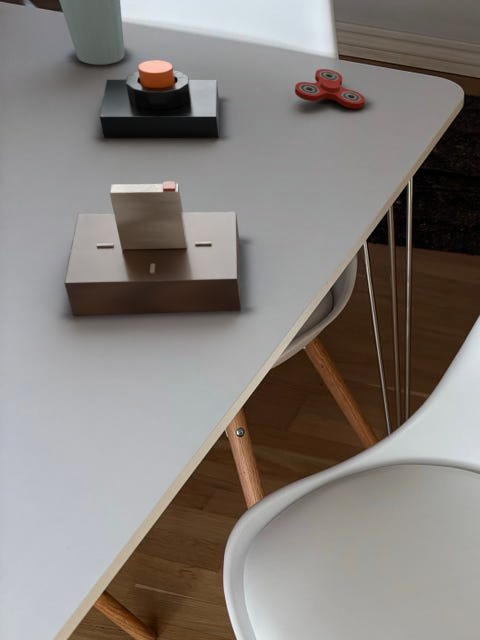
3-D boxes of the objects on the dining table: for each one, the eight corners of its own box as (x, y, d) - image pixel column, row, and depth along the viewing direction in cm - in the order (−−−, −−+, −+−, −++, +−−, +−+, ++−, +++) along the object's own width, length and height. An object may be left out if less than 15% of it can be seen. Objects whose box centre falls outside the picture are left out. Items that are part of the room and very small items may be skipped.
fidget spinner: (290, 84, 116) (289, 96, 117) (347, 110, 115) (346, 121, 116) (323, 63, 121) (322, 74, 122) (378, 87, 120) (377, 98, 121)
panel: (72, 315, 86) (63, 281, 84) (85, 245, 94) (77, 211, 91) (241, 310, 88) (236, 277, 86) (239, 242, 96) (235, 209, 94)
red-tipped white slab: (121, 249, 88) (108, 190, 84) (122, 240, 89) (110, 181, 85) (186, 248, 89) (177, 189, 85) (187, 239, 90) (177, 180, 86)
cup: (86, 40, 126) (66, -58, 118) (144, 50, 125) (128, -49, 117) (56, 62, 121) (33, -39, 113) (116, 72, 120) (97, -29, 112)
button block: (104, 138, 109) (95, 98, 106) (110, 100, 115) (103, 61, 112) (218, 137, 110) (213, 98, 108) (219, 100, 117) (214, 62, 114)
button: (140, 90, 109) (136, 72, 107) (141, 77, 111) (138, 59, 110) (174, 90, 109) (171, 73, 108) (175, 77, 112) (173, 60, 110)
